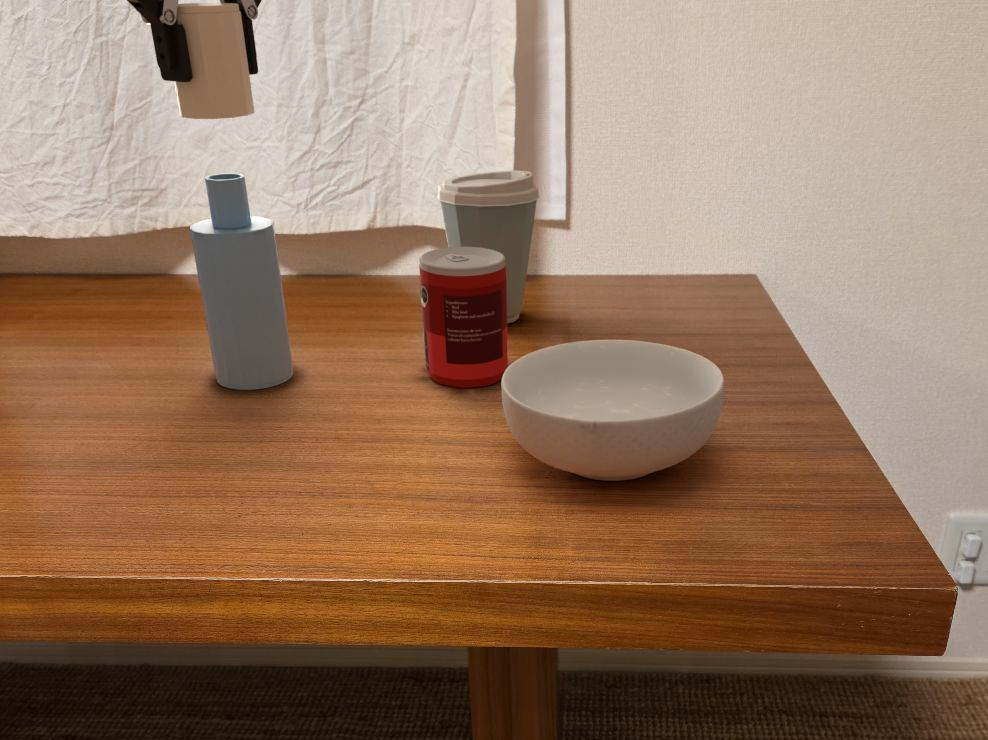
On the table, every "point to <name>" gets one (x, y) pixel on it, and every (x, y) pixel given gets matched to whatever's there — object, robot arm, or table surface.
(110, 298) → the table surface
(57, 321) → the table surface
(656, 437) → the cereal bowl
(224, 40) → the paper cup
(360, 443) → the table surface
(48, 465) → the table surface
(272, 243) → the water bottle
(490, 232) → the disposable coffee cup
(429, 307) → the canned food
